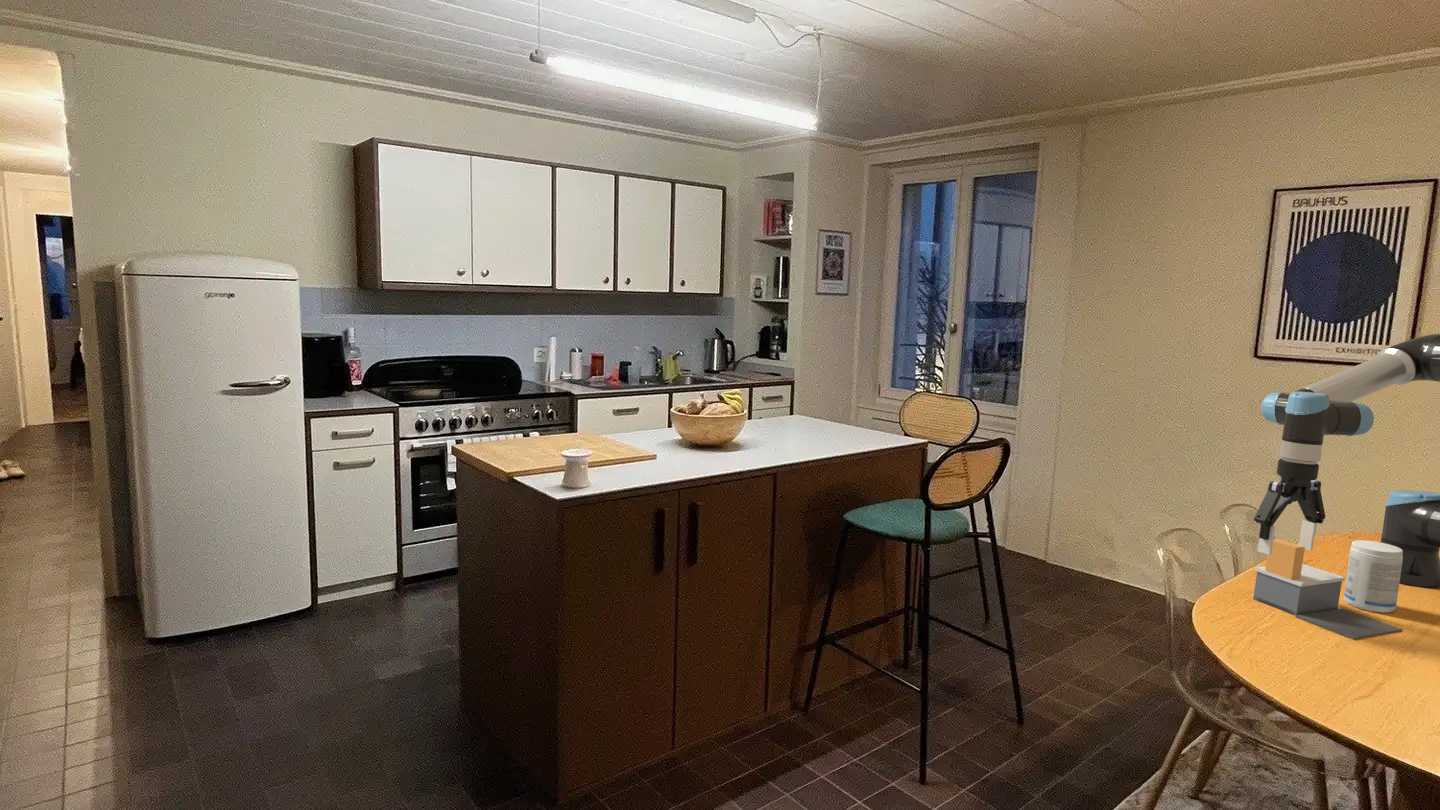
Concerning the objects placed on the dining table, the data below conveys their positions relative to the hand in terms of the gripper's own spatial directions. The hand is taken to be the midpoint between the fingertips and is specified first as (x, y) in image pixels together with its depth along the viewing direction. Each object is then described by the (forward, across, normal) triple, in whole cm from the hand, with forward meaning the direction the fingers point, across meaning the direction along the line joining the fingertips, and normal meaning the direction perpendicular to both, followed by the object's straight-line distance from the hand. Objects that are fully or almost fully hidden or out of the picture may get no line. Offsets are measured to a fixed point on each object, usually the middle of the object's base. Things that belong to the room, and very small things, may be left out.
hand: (1285, 551), depth 181 cm
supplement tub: (+13, -23, +6) cm, 27 cm away
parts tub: (+13, -6, 0) cm, 15 cm away
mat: (+13, -6, +12) cm, 19 cm away
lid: (+6, -6, 0) cm, 9 cm away
